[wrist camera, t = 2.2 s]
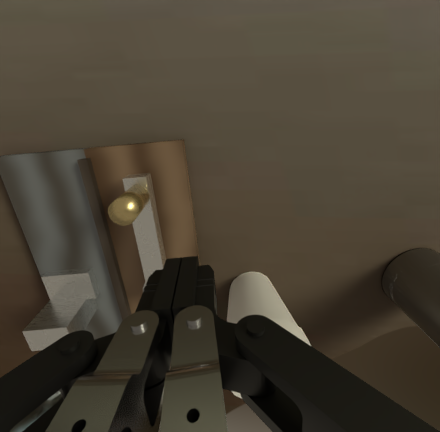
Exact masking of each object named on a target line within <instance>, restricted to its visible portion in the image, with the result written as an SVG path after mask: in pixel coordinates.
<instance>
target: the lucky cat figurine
mask: <svg viewBox="0 0 440 432" xmlns="http://www.w3.org/2000/svg"><path fill="white" fill-rule="evenodd" d="M62 398H63V397H62V395H61V393H60V391H57V392H56V393H55V394H54V395H52V396H51V397H50V398H49V399H47V400H46V401H45V402H44V403H42V404H41V405H40V406H39V407H37V408H36V409H35V410H34V411H32V412H31V413H30V414H29V415H28V416H26V417H25V418H24V419H23V420H21V421H20V422H19V423H18V424H16V425H15V426H14V427H13V428H12V429H11V430H10V432H22V431H23V430H25V429H26V428H27V427H28V426H29V425H31V424H32V423H33V422H34V421H35V420H37V419H38V418H39V417H40V416H41V415H43V414H44V413H45V412H46V411H47V410H49V409H50V408H51V407H52V406H53V405H55V404H56V403H57V402H58V401H59V400H61V399H62Z"/></svg>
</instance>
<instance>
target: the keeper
mask: <svg viewBox="0 0 440 432" xmlns="http://www.w3.org/2000/svg"><path fill="white" fill-rule="evenodd" d="M41 278H42V280H43V283H44V285H45V288H46V290H47V293H48V295H49V298H50V301H49V302H48V303H47V304H46V305H45V307H44V308H43V309H42V310H41V311H40V312H39V313H38V314H37V316H36V317H35V318H34V319H33V320H32V321H31V322H30V323H29V324H28V326H27V327H26V328H25V329H24V330H23V331H22V332H23V334H24V336H25V338H26V341H27V343H28V345H29V347H30V349H31V351H38V350H43V349H45V348H46V347H48V346H49V345H51V344H53V343H54V342H56V341H57V340H59V339H60V338H62V337H63V336H65V335H67V334H69V333H72V332H75V331H80V330H85V328H86V327H87V325H88V323H89V322H90V320H91V318H92V317H93V315H94V314H95V312H96V310H97V309H98V308H97V305H96V302H95V298H97V296H98V295H99V293H100V291H99V288H98V285H97V281H96V278H95V275H94V272H93V268H84V269H73V270H62V271H51V272H46V273H45V274H44V275H43V276H42V277H41Z"/></svg>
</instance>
